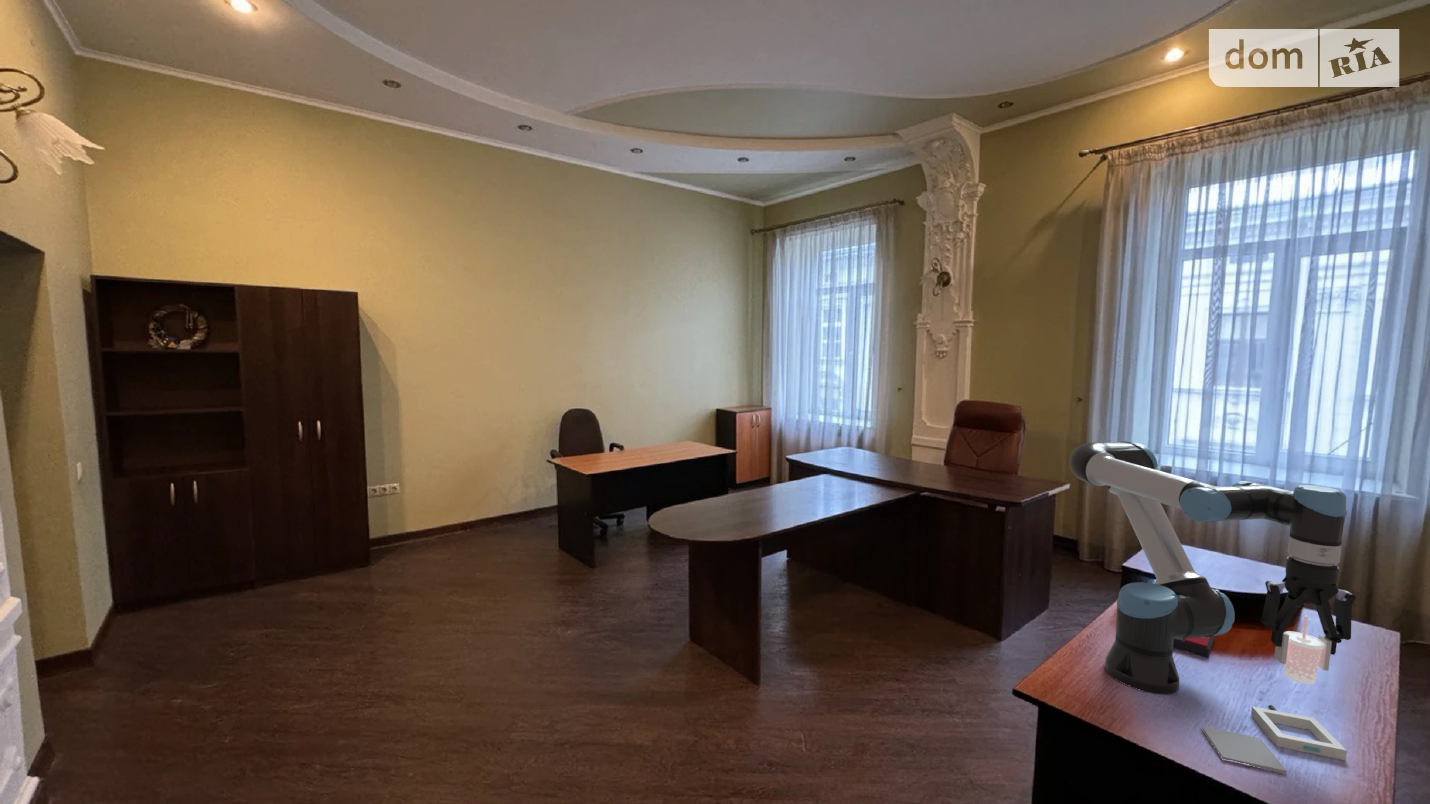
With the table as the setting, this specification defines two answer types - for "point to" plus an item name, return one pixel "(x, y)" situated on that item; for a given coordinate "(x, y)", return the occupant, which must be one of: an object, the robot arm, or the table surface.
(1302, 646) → the beverage cup
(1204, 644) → the red and black box
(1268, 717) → the beige flat rectangular frame
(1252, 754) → the coaster pad
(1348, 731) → the table surface
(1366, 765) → the table surface
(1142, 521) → the robot arm
